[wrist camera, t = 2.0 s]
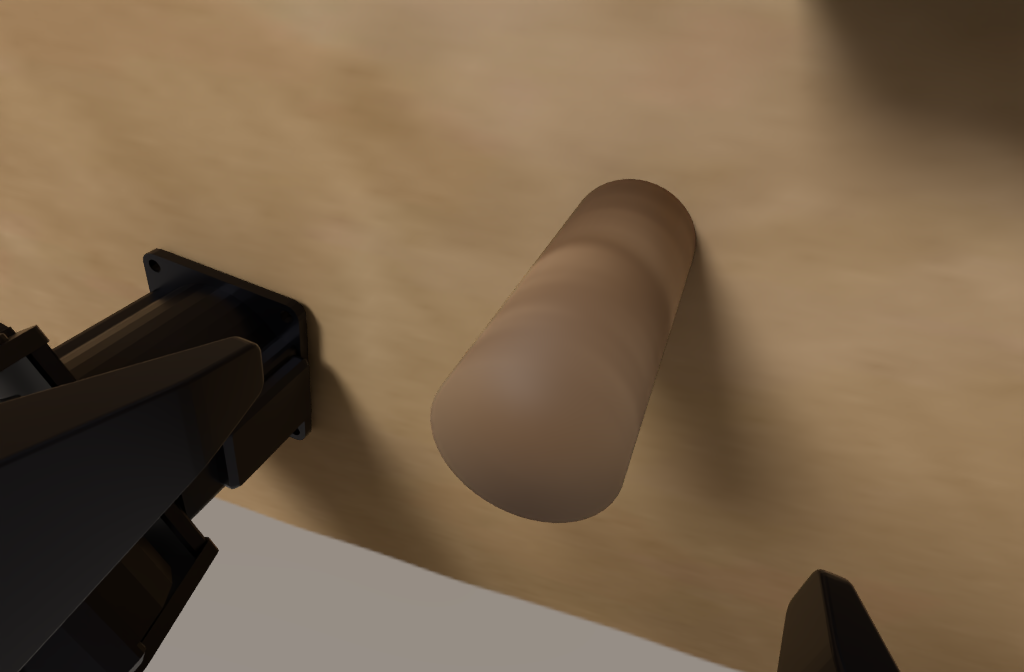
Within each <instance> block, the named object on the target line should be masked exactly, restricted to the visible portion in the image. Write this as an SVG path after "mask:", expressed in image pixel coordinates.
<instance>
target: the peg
mask: <svg viewBox="0 0 1024 672" xmlns="http://www.w3.org/2000/svg"><path fill="white" fill-rule="evenodd" d="M695 247H696V235H695V229H694V225H693V222H692V220H691V217H690V215H689V213H688V212H687V210H686V208H685V207H684V206H683V204H682V203H681V202H680V201H679V200H678V199H677V198H676V197H675V196H674V195H673V194H671V193H670V192H669V191H667V190H666V189H664V188H662V187H660V186H658V185H656V184H653V183H650V182H647V181H642V180H635V179H623V180H617V181H612V182H609V183H606V184H604V185H602V186H599V187H598V188H596V189H595V190H593V191H592V192H591V193H589V194H588V195H587V196H586V197H585V198H584V199H583V200H582V202H581V203H580V204H579V205H578V207H577V208H576V209H575V211H574V212H573V213H572V215H571V216H570V217H569V219H568V220H567V221H566V222H565V224H564V225H563V226H562V228H561V229H560V230H559V232H558V233H557V234H556V236H555V237H554V238H553V240H552V241H551V242H550V243H549V245H548V246H547V247H546V249H545V250H544V251H543V253H542V254H541V255H540V257H539V258H538V259H537V261H536V262H535V263H534V264H533V266H532V267H531V268H530V270H529V271H528V272H527V274H526V275H525V276H524V278H523V279H522V280H521V281H520V283H519V284H518V285H517V287H516V288H515V289H514V291H513V292H512V293H511V295H510V296H509V297H508V299H507V300H506V301H505V302H504V304H503V305H502V306H501V308H500V309H499V310H498V312H497V313H496V314H495V316H494V317H493V318H492V320H491V321H490V322H489V323H488V325H487V326H486V327H485V329H484V330H483V331H482V333H481V334H480V335H479V337H478V338H477V339H476V340H475V342H474V343H473V344H472V346H471V347H470V348H469V350H468V351H467V352H466V354H465V355H464V356H463V358H462V359H461V360H460V361H459V363H458V364H457V365H456V367H455V368H454V369H453V371H452V372H451V373H450V375H449V376H448V377H447V379H446V380H445V381H444V382H443V384H442V385H441V387H440V388H439V390H438V391H437V393H436V395H435V397H434V400H433V403H432V408H431V420H430V421H431V429H432V433H433V437H434V440H435V443H436V445H437V448H438V450H439V452H440V454H441V456H442V457H443V459H444V461H445V462H446V463H447V465H448V466H449V468H450V469H451V470H452V471H453V473H454V474H455V475H456V476H457V477H458V478H459V479H460V480H461V481H462V482H463V483H464V484H465V485H466V486H467V487H468V488H469V489H471V490H472V491H473V492H474V493H475V494H477V495H478V496H480V497H481V498H483V499H484V500H486V501H487V502H489V503H491V504H493V505H494V506H496V507H498V508H500V509H502V510H504V511H506V512H509V513H512V514H514V515H517V516H520V517H523V518H527V519H530V520H536V521H541V522H551V523H566V522H575V521H579V520H583V519H587V518H589V517H592V516H594V515H596V514H598V513H600V512H601V511H603V510H604V509H606V508H607V507H608V506H609V505H610V504H611V503H612V502H613V501H614V500H615V498H616V497H617V496H618V494H619V492H620V490H621V488H622V485H623V482H624V479H625V475H626V472H627V469H628V466H629V463H630V459H631V456H632V453H633V450H634V446H635V443H636V440H637V437H638V434H639V430H640V427H641V424H642V421H643V418H644V414H645V411H646V408H647V405H648V401H649V398H650V395H651V392H652V389H653V385H654V382H655V379H656V376H657V373H658V369H659V366H660V363H661V360H662V356H663V353H664V350H665V347H666V344H667V340H668V337H669V334H670V331H671V328H672V324H673V321H674V318H675V315H676V311H677V308H678V305H679V302H680V299H681V295H682V292H683V289H684V286H685V283H686V279H687V276H688V273H689V270H690V266H691V263H692V260H693V257H694V253H695Z"/></svg>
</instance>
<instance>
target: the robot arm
mask: <svg viewBox="0 0 1024 672" xmlns="http://www.w3.org/2000/svg"><path fill="white" fill-rule="evenodd" d="M143 263H144V267H145V271H146V276H147V280H148V285H149V289H150V293H148V294H147V295H145V296H143V297H141V298H140V299H138V300H136V301H135V302H133V303H131V304H129V305H128V306H126V307H124V308H122V309H121V310H119V311H117V312H116V313H114V314H112V315H110V316H109V317H107V318H105V319H104V320H102V321H100V322H98V323H97V324H95V325H93V326H92V327H90V328H88V329H86V330H85V331H83V332H81V333H80V334H78V335H76V336H74V337H73V338H71V339H69V340H67V341H66V342H64V343H62V344H61V345H59V346H57V347H55V348H54V349H51V348H50V347H49V345H48V344H47V343H48V342H49V339H48V338H47V337H46V336H45V334H44V333H43V332H42V331H41V330H40V328H39V327H38V326H37V325H35V326H32V327H30V328H27V329H24V330H22V331H19V332H17V333H15V331H14V330H13V329H12V328H11V327H7V326H5V325H4V324H2V323H0V672H143V671H144V670H145V668H146V667H147V665H148V663H149V662H150V661H151V659H152V658H153V656H154V654H155V653H156V651H157V649H158V648H159V646H160V645H161V643H162V641H163V640H164V638H165V637H166V635H167V633H168V632H169V630H170V629H171V627H172V625H173V624H174V622H175V621H176V619H177V617H178V616H179V614H180V613H181V611H182V609H183V608H184V606H185V605H186V603H187V601H188V600H189V598H190V597H191V595H192V593H193V592H194V590H195V588H196V587H197V585H198V583H199V582H200V580H201V579H202V577H203V575H204V574H205V572H206V571H207V569H208V568H209V566H210V564H211V563H212V561H213V560H214V558H215V556H216V555H217V553H218V551H219V550H218V548H217V547H216V546H215V544H214V543H213V542H212V541H211V539H210V538H209V537H204V536H203V535H202V533H201V532H200V531H199V530H198V529H197V528H196V526H195V525H194V524H193V522H192V521H191V519H192V518H193V517H194V516H195V515H196V514H198V513H199V511H201V510H202V509H203V508H204V506H205V505H207V504H208V503H209V501H211V500H212V499H213V498H214V497H215V496H216V495H217V494H218V493H219V492H220V491H221V490H222V489H223V488H224V487H225V486H226V487H228V488H231V489H235V488H237V487H239V486H241V485H242V484H243V483H244V482H245V481H246V480H247V479H248V478H249V477H250V476H251V475H252V474H253V473H254V472H255V471H256V470H257V469H258V468H259V467H260V466H261V465H262V464H263V463H264V462H265V461H266V460H267V459H268V458H269V457H270V456H271V455H272V454H273V453H274V452H275V451H276V450H277V449H278V448H279V447H280V446H281V445H282V443H283V442H284V441H285V440H286V439H287V438H288V437H292V438H294V439H297V440H303V439H304V438H305V437H306V436H307V435H308V434H309V433H310V432H311V398H310V376H309V365H308V344H307V323H306V313H305V310H304V309H303V307H302V306H301V305H300V304H299V303H298V302H297V301H295V300H293V299H291V298H288V297H285V296H283V295H280V294H277V293H275V292H272V291H270V290H267V289H264V288H262V287H259V286H256V285H254V284H251V283H249V282H246V281H243V280H241V279H238V278H235V277H233V276H230V275H228V274H225V273H222V272H220V271H217V270H214V269H212V268H209V267H207V266H204V265H201V264H199V263H196V262H193V261H191V260H188V259H185V258H183V257H180V256H178V255H175V254H172V253H170V252H167V251H164V250H162V249H154V250H152V251H150V252H148V253H146V254H145V255H144V257H143ZM289 313H290V314H289ZM777 672H900V670H899V668H898V667H897V665H896V663H895V661H894V659H893V658H892V656H891V654H890V652H889V650H888V648H887V647H886V645H885V643H884V641H883V639H882V638H881V636H880V634H879V632H878V630H877V629H876V627H875V625H874V623H873V621H872V619H871V618H870V616H869V614H868V612H867V610H866V609H865V607H864V605H863V603H862V601H861V599H860V598H859V596H858V594H857V592H856V590H855V589H854V587H853V585H852V584H851V583H850V582H849V581H848V580H847V579H845V578H843V577H840V576H838V575H835V574H833V573H830V572H828V571H825V570H821V569H819V570H816V571H814V572H813V573H812V574H811V576H810V577H809V578H808V579H807V581H806V582H805V583H804V584H803V586H802V587H801V588H800V589H799V591H798V592H797V593H796V594H795V596H794V597H793V598H792V600H791V601H790V603H789V606H788V609H787V612H786V617H785V624H784V630H783V637H782V643H781V650H780V657H779V663H778V670H777Z"/></svg>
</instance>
